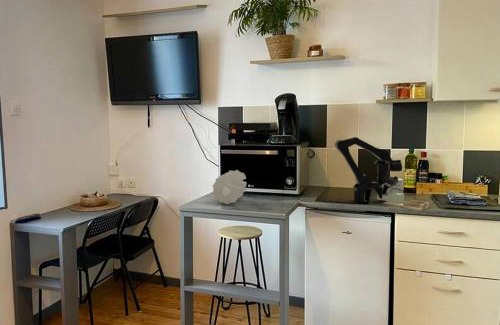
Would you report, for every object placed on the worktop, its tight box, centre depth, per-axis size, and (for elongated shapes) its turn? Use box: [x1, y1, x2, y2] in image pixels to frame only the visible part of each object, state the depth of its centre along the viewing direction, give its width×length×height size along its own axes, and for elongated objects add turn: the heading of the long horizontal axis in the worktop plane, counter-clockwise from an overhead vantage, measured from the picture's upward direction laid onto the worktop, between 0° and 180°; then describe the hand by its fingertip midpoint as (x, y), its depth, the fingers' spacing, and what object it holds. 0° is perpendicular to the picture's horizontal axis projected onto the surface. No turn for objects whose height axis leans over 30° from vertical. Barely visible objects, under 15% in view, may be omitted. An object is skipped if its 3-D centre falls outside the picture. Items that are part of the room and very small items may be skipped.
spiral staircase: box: [212, 169, 247, 205], centre depth 232 cm, size 18×18×25 cm
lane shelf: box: [382, 199, 431, 212], centre depth 215 cm, size 12×21×3 cm, turn 40°
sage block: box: [376, 192, 405, 204], centre depth 223 cm, size 5×15×5 cm, turn 40°
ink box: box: [386, 178, 404, 195], centre depth 236 cm, size 9×5×12 cm, turn 62°
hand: (382, 198), depth 227 cm, fingers closed on sage block, 2 cm apart
